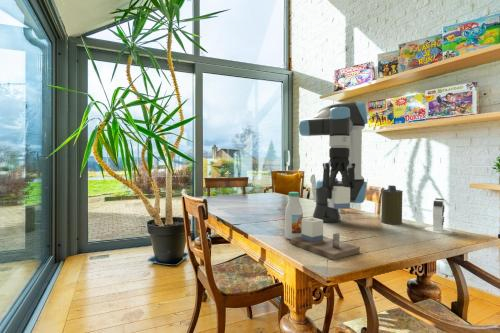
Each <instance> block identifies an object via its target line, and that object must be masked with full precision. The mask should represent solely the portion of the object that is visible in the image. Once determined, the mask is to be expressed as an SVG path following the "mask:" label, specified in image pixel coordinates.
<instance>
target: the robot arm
mask: <svg viewBox="0 0 500 333" xmlns="http://www.w3.org/2000/svg"><path fill="white" fill-rule="evenodd" d="M368 120H369V119H368V111H367V106H366V103H365V102H363V101H353V102H352V101H351V102H343V103H342V102H341V103H333V104H329V105H327V106H324V107H322V108H321V109H320V110H319V111H318V112H317V114H315V115H314V116H313V117H310V118H302V119H300V121H299V123H298V131H299V134H300V136H302V137H313V136H315V137H316V136H329V140H328V141H329V143H328V145H329V146H328V147H329V152H328V153H329V155H328V156H329V161H328V162H323V163H322V168H323V169H322V170H323V171H322V172H323V174H322V178H321V179H318V180H317V181H316V185H315V209H314V211H313V214H312V218H317V219H321V220H323V223H338V222H340V221H341V219H342V218H341V215H340V211H339V210H340V209H334V192H335V191H333V187H334V186H342V187H350V204H351V203H352V204H363V203H364V202H365V199H366V195H367V194H366V193H367V188H368V182H367V181H365V177H364V176H362V154H363V153H362V150H363V149H362V147H363V146H362V139H363V138H362V137H363V136H362V134H363V130H364V129H365V127H366V125H368V124H369V121H368ZM338 174H340V175H341V180H338V178H337V175H338ZM328 199H329V203H328V207H327V200H328Z"/></svg>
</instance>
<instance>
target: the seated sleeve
mask: <svg viewBox="0 0 500 333" xmlns="http://www.w3.org/2000/svg"><path fill="white" fill-rule="evenodd" d="M323 236H324V222H323V220H321V219H317V218H313V217H307V218H303V219H302V239H304V240H307V241H310V242H316V241H320V240H323Z"/></svg>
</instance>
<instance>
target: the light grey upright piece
mask: <svg viewBox="0 0 500 333" xmlns="http://www.w3.org/2000/svg"><path fill="white" fill-rule="evenodd" d="M444 200H445V199H444V198H438V197H435V199H434V200H433V204H432V205H433V208H432V219H433V220H432V222H433V223H432V226H426V227H424V229H423V230H424V231H426V232H429V233H434V234H441V235H442V234H444V235H447V234H448V235H449V234H452V233H453V230H451V229H448V228H444V223H445V216H444V214H445V204H444V203H445V202H444Z"/></svg>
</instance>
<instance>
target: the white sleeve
mask: <svg viewBox="0 0 500 333" xmlns="http://www.w3.org/2000/svg"><path fill="white" fill-rule="evenodd" d="M333 191H335V192H334V209H338V210H343V209H345V210H346V209H350V208H351V203H350V187H342V186H334V187H333ZM328 203H329V199H328V200H327V207H328Z"/></svg>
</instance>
